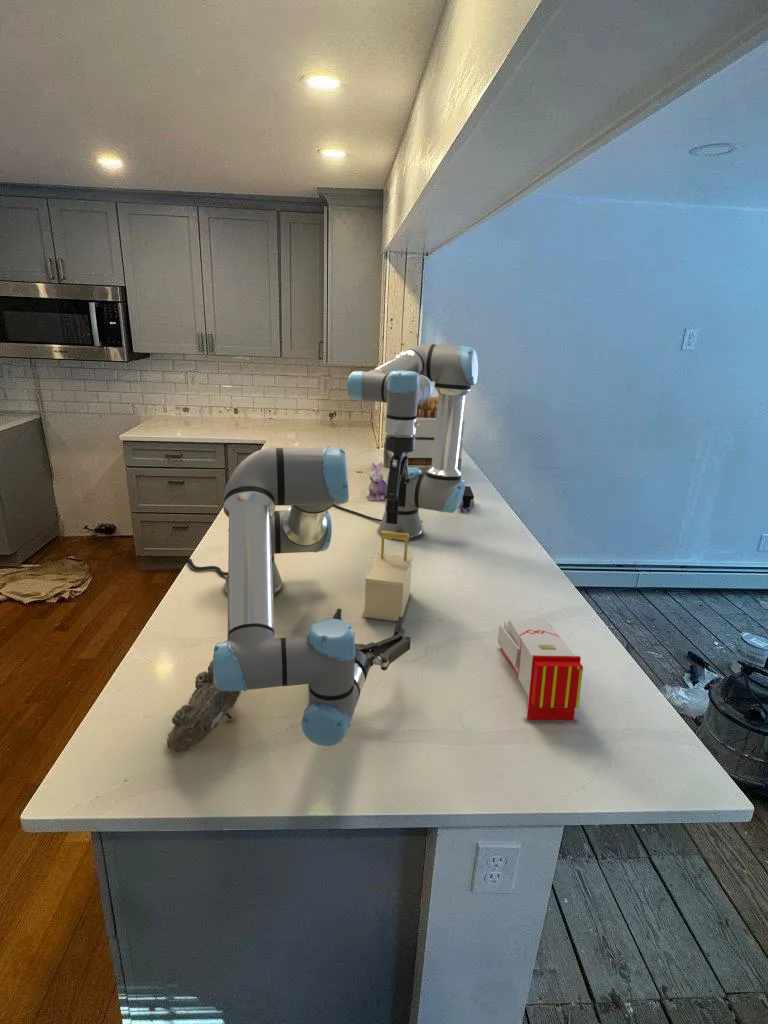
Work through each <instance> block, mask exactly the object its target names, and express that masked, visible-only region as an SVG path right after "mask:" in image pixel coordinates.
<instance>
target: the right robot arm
mask: <svg viewBox="0 0 768 1024" xmlns="http://www.w3.org/2000/svg"><path fill="white" fill-rule="evenodd" d="M478 378H479V362H478V355H477V351H476V350H475V349H474V348H473V347H471V346H466V345H465V346H464V345H461V344H460V345H455V344H454V345H452V344H438V343H437V344H436V343H435V344H434V343H425V344H424V343H423V344H418V345H415V346H412V347H409V348H406V349H404V350H402V351H400V352H398V353H397V354H396V355H395V358H393V359H391V360H389V361H387V362H385V363H383V364H381V365H379V366H377V367H375V368H373V369H371V370H369V371H363V370H360V371H359V370H354V371H351V373H350V374H349V376H348V378H347V383H346V391H347V394H348V397H350V398H351V399H352V400H356V401H357V400H359V401H361V402H363V401H364V402H374V403H375V402H376V403H386V412H387V415H385V431H384V432H385V437H384V442H385V449H386V450H388V451H391V452H393V456H392V458H391V459H390V467H389V470H388V473H387V475H386V481H385V482H386V496H384V499H383V500H385V504H384V505H385V507H384V508H385V509H384V513H383V515H382V519H381V518H376V517H372V516H369V515H366V514H363V513H361V512H358V511H354V510H352V509H348V508H345V507H342V506H340V505H336V504H334V505H333V506H332V507H335V508H337V509H340V510H342V511H345V512H348V513H350V514H354V515H357V516H360V517H362V518H365V519H367V520H372V521H375V522H379V525H378V533H379V534H380V535H381V531H389V532H398V533H407V534H409V539H408V541H410V540H415V539H418V538H420V537H421V536H422V535H423V525H422V524H423V519H421V518H420V515H419V509H424V510H429V511H435V512H441V513H449V514H453V513H456V512H457V511H458V509H460V508H459V506H460V503H461V501H462V498H463V494H464V490H465V486H466V480H465V479H462V473H460V471H459V470H458V469H457V465H458V456H459V447H460V439H462V438H461V429H462V420H463V419H464V408H465V401H466V395H467V394H469V392H471V390H472V386H475V385H476V384H477V382H478ZM433 382H434V386H433ZM434 389H435V391H436V392H437V393H438V394H437V395H438V396H437V397H438V405H437V415H436V425H435V436H434V446H433V456H432V465H430V466H429V468H427V469H426V472H425V473H422V469H421V468H419V467H417V466H408V453H409V452H412V451H414V449H415V436H414V434H415V432H416V427H417V426H418V425H419V424H418V423H415V421H416V418H417V406H418V405H421V404H423V403H425V402H426V401H427V400H429V399H430V397H433V396H432V395H433V392H434ZM386 433H387V435H386ZM394 540H395V541H400V540H399V539H394Z"/></svg>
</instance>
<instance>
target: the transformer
mask: <svg viewBox="0 0 768 1024" xmlns="http://www.w3.org/2000/svg"><path fill="white" fill-rule="evenodd" d="M437 405H438V396H431V397H430V399H429V400H427V401H426V402H425V403H423V404H421V405H418V406H417V418H416V421H415V423H418V424H419V425H418V426H417V427H416V432H415V434H414V436H415V449H414V451H412V452H409V453H408V467H417V466H418V467H431V466H432V456H433V446H434V436H435V425H436V415H437ZM385 414H386V415H387V411H386V413H385ZM386 415H385V416H386ZM464 429H465V419H464V418H463V420H462V429H461V438H460V447H459V456H458V465H457V469H458V470H459V471H460V473H461V472H462V461H463V460H462V453H463V442H464V441H463V440H462V439H463V438H464V431H465V430H464ZM386 435H387V433H386V432H385V436H386ZM392 456H393V452H391V451H388V450H386V449H385V441H384V442H383V462H382V465H383V466H384V467H388V468H390V459H391V458H392ZM461 474H462V473H461Z"/></svg>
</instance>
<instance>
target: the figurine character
mask: <svg viewBox="0 0 768 1024" xmlns="http://www.w3.org/2000/svg"><path fill="white" fill-rule="evenodd" d="M474 498H475V496H474V492H473V489H472V488H471V486H469V485H465V490H464V494H463V498H462V501H461V503H460V506H459V508H458V509H460V512H461V513H462V512H464V511H463V510H467V512H468V513H470V511H471V510H470V509H474V508H475V499H474Z"/></svg>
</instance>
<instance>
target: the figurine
mask: <svg viewBox="0 0 768 1024" xmlns="http://www.w3.org/2000/svg"><path fill="white" fill-rule="evenodd" d="M382 468H383V462H382V461H379V463H378V464H377V465H376V464H375V462H371V472H370V473H369V480H370V483H369V485H368V491H369V493H368V497H367V498H369V500H371V501H376V502H377V501H378V502H379V501H383V500H385V499H384V496H386V482H387V481H386V480H384V475H383V472H382Z"/></svg>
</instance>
